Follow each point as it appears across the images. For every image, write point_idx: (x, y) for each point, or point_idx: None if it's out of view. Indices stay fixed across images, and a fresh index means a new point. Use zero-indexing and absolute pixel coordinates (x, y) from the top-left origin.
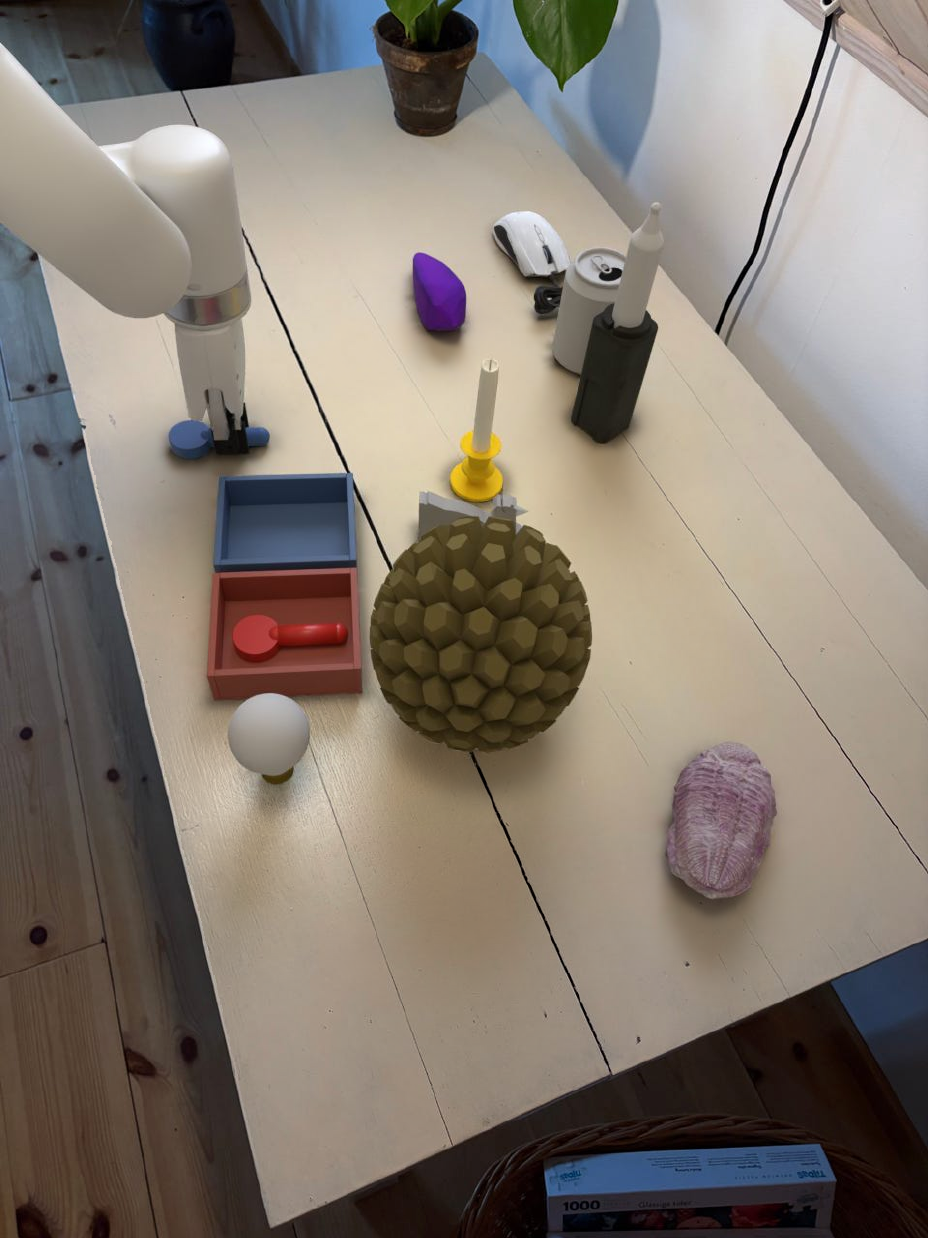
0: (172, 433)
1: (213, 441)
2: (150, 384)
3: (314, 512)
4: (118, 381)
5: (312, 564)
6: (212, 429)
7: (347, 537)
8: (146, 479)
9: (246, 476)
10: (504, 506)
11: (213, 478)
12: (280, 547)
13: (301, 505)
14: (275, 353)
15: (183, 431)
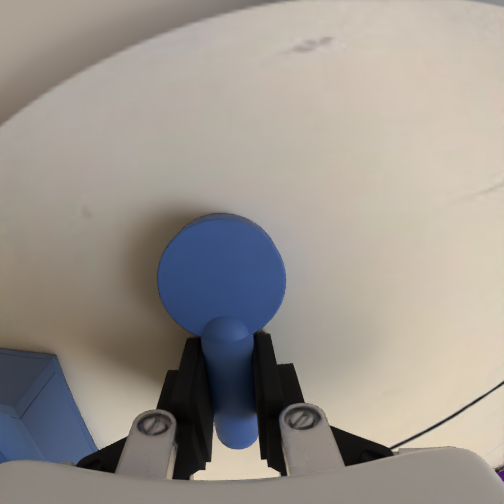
0: (222, 231)
1: (180, 362)
2: (439, 138)
3: None
4: (439, 65)
5: None
6: (136, 421)
7: None
8: (90, 168)
9: (37, 451)
10: None
11: (114, 332)
12: (11, 424)
13: None
14: (471, 383)
15: (231, 265)
